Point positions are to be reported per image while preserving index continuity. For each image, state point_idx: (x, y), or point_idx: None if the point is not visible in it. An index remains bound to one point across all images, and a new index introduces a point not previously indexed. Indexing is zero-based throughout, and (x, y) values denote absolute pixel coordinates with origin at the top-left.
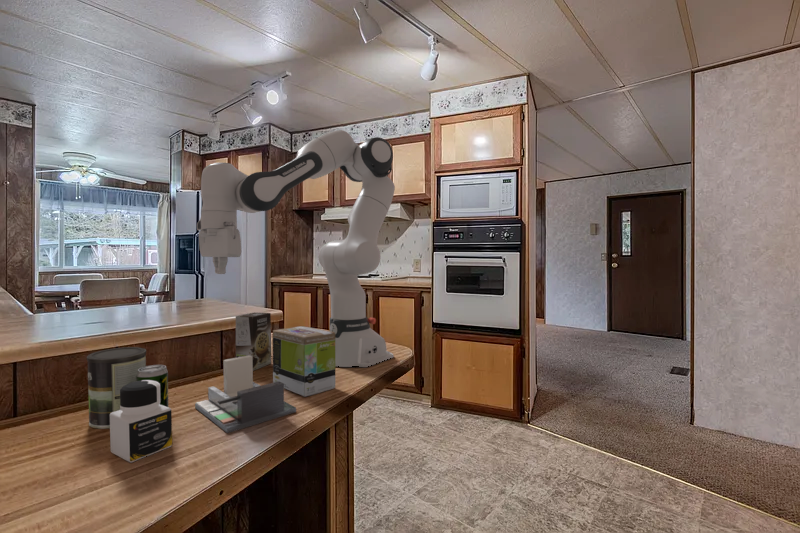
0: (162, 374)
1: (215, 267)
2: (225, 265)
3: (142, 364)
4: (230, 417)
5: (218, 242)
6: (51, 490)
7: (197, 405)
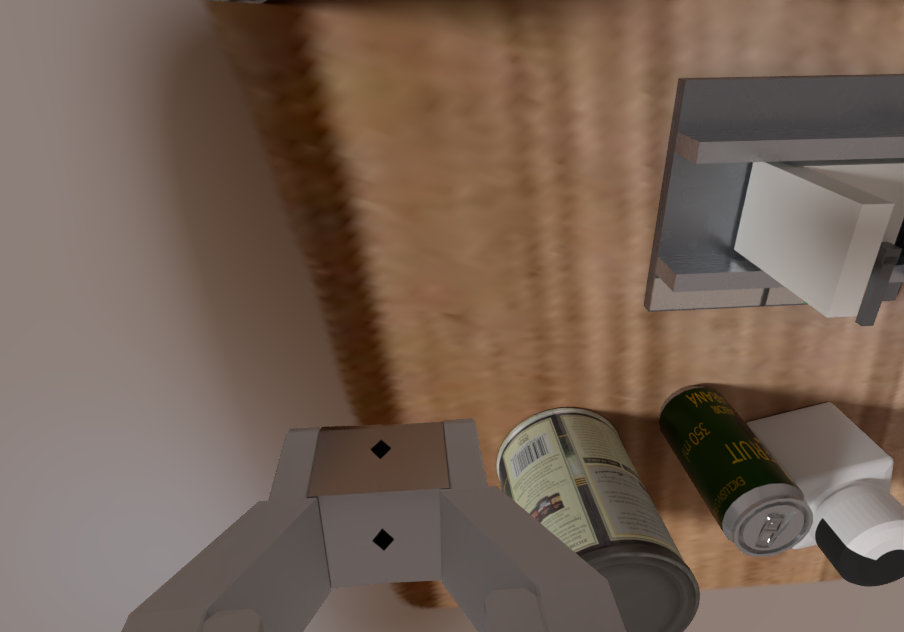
0: (806, 499)
1: (320, 587)
2: (523, 524)
3: (660, 531)
4: None
5: None
6: (804, 548)
7: (670, 310)
